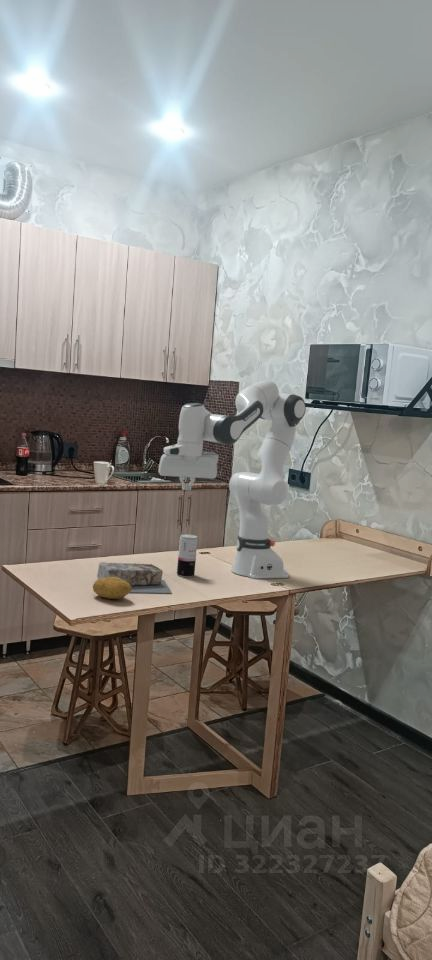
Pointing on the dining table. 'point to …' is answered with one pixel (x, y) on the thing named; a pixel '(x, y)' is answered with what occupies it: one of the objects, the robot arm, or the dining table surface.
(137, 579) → the stone block
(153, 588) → the mat
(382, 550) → the dining table surface
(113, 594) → the potato
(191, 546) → the beverage can
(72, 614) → the dining table surface
